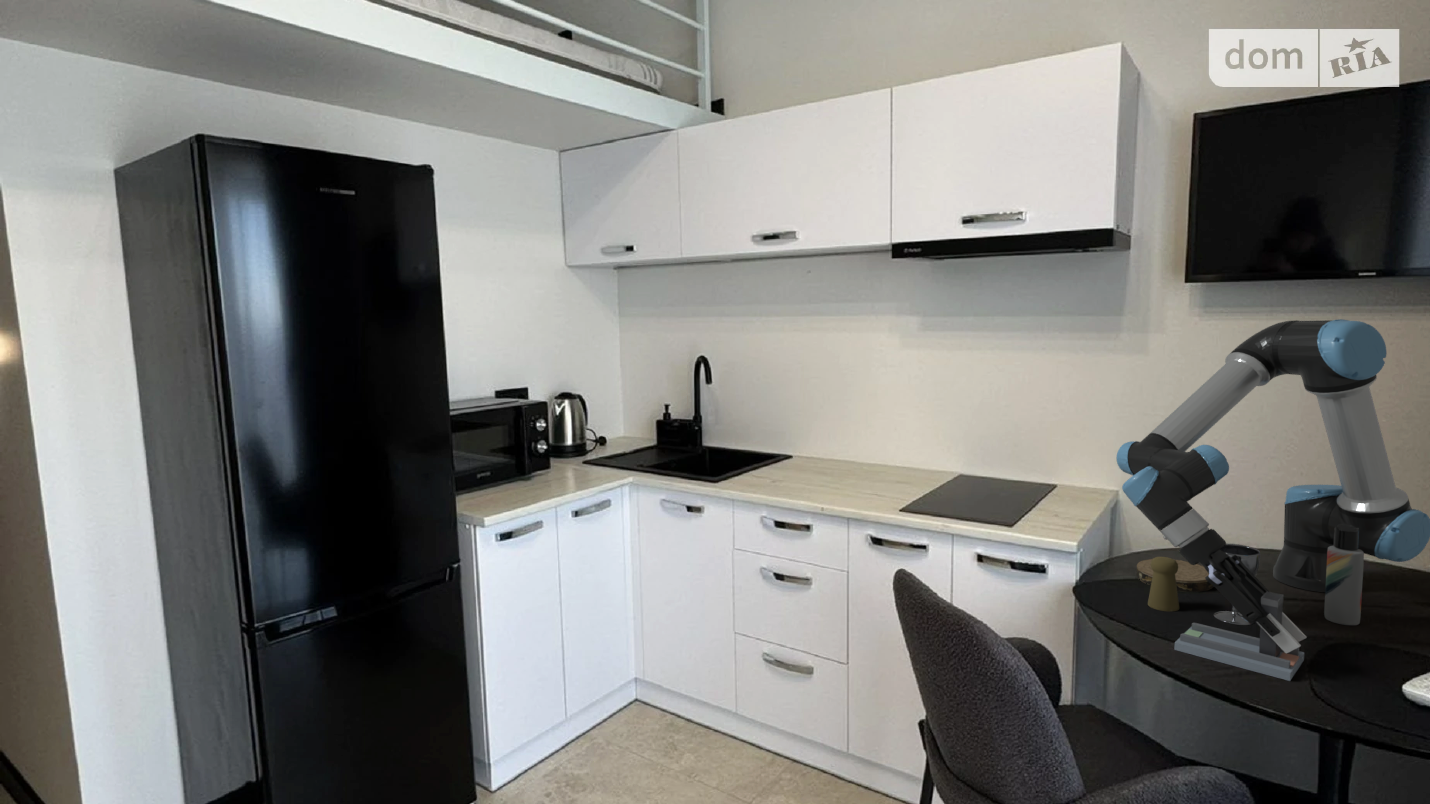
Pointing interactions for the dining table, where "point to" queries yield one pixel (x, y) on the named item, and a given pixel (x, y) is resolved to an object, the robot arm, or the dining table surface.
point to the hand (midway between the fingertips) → (1296, 644)
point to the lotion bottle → (1344, 577)
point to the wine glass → (1251, 561)
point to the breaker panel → (1237, 651)
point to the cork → (1164, 585)
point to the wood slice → (1179, 576)
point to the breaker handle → (1273, 606)
